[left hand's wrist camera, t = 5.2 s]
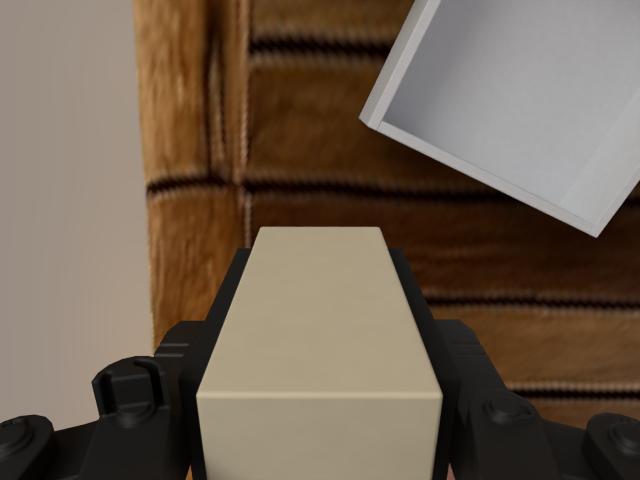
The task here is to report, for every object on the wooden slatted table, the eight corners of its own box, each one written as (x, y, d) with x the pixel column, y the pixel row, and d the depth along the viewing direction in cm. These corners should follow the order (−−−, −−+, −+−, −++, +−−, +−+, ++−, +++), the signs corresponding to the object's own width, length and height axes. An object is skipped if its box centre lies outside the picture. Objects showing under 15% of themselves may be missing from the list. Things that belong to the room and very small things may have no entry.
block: (380, 226, 14) (445, 394, 7) (374, 328, 16) (423, 560, 8) (260, 226, 14) (194, 394, 7) (265, 328, 16) (216, 559, 8)
